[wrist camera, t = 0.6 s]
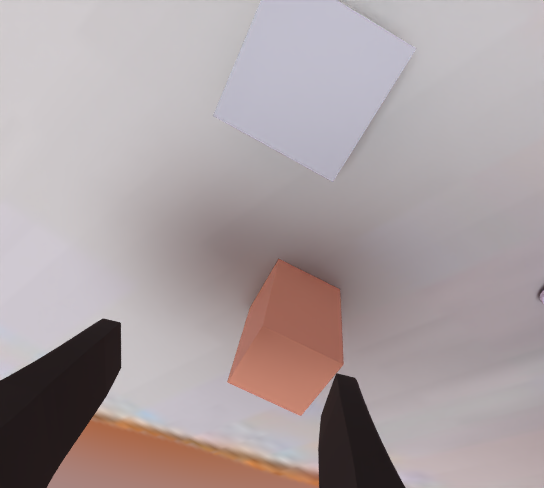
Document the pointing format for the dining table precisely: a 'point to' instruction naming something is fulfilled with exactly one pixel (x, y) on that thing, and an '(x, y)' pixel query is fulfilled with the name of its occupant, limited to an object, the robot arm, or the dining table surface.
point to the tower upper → (311, 80)
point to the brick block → (290, 339)
